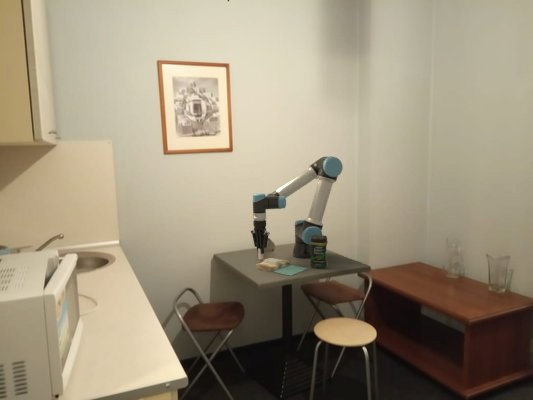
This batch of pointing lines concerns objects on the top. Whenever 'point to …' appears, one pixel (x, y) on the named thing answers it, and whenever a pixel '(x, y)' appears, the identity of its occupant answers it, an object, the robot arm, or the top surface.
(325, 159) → the robot arm
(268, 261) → the card
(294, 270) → the mat
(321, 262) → the coffee jar
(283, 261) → the tan flat block
